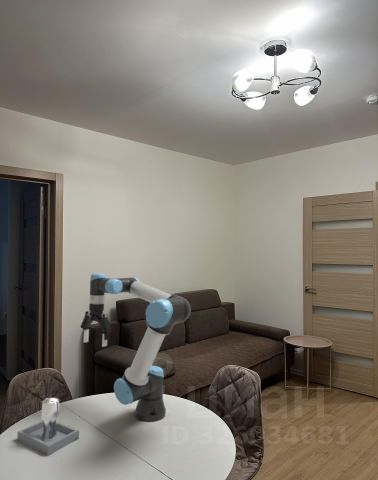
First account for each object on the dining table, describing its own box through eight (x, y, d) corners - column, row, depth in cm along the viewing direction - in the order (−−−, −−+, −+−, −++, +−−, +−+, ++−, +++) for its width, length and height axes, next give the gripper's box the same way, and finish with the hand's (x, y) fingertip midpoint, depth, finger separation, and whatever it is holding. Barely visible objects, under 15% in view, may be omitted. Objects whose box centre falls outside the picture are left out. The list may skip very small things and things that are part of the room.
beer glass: (51, 442, 141) (53, 405, 142) (36, 440, 142) (38, 403, 143) (61, 434, 148) (62, 398, 148) (46, 432, 149) (48, 396, 150)
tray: (78, 438, 146) (78, 430, 146) (47, 455, 133) (48, 446, 134) (48, 425, 157) (48, 417, 157) (17, 440, 144) (17, 431, 144)
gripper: (74, 301, 184) (72, 341, 183) (109, 306, 171) (107, 349, 170) (85, 300, 190) (83, 339, 189) (119, 304, 177) (117, 346, 176)
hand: (95, 344), depth 179 cm, fingers open, 13 cm apart
